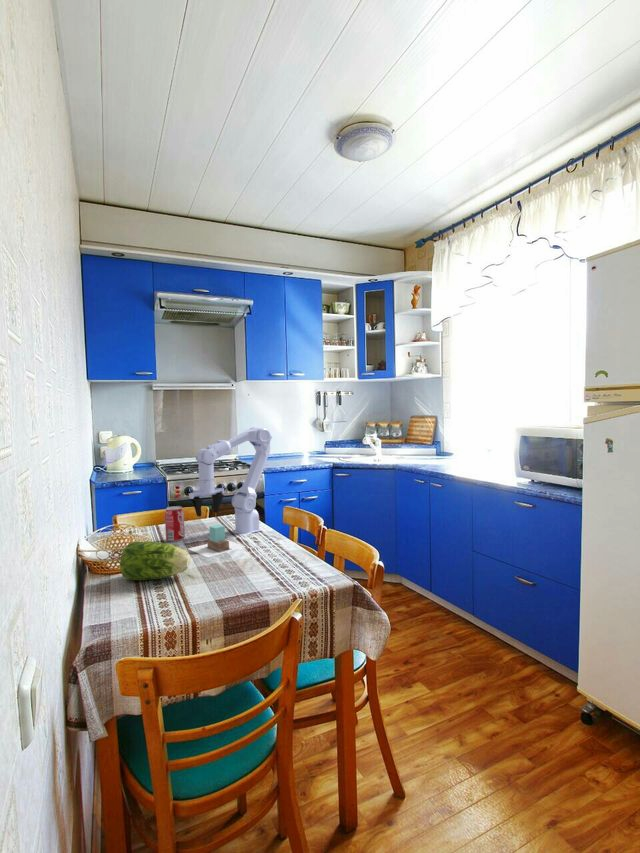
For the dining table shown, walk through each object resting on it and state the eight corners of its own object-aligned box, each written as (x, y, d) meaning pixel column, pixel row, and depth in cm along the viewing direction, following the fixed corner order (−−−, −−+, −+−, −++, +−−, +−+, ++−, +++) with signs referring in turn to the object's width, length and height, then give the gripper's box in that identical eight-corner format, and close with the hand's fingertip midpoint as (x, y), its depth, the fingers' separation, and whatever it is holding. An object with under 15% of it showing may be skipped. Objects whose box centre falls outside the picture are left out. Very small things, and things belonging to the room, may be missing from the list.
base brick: (217, 544, 171) (216, 536, 170) (229, 549, 165) (228, 541, 165) (207, 547, 168) (207, 539, 168) (219, 551, 162) (219, 543, 162)
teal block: (219, 537, 169) (218, 524, 169) (225, 539, 166) (224, 526, 166) (209, 540, 166) (209, 526, 166) (215, 542, 164) (215, 528, 163)
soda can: (181, 543, 176) (180, 509, 175) (163, 543, 176) (161, 509, 175) (187, 537, 183) (186, 505, 182) (169, 538, 183) (168, 505, 182)
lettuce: (185, 585, 134) (183, 547, 133) (114, 586, 134) (113, 548, 133) (195, 571, 145) (194, 536, 145) (131, 572, 145) (129, 537, 145)
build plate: (224, 540, 178) (224, 539, 178) (246, 548, 168) (246, 546, 168) (187, 550, 166) (187, 548, 166) (207, 559, 156) (207, 557, 156)
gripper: (216, 476, 185) (217, 509, 186) (184, 480, 175) (185, 516, 176) (226, 477, 180) (227, 511, 181) (193, 482, 170) (195, 518, 171)
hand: (207, 514), depth 178 cm, fingers open, 7 cm apart
